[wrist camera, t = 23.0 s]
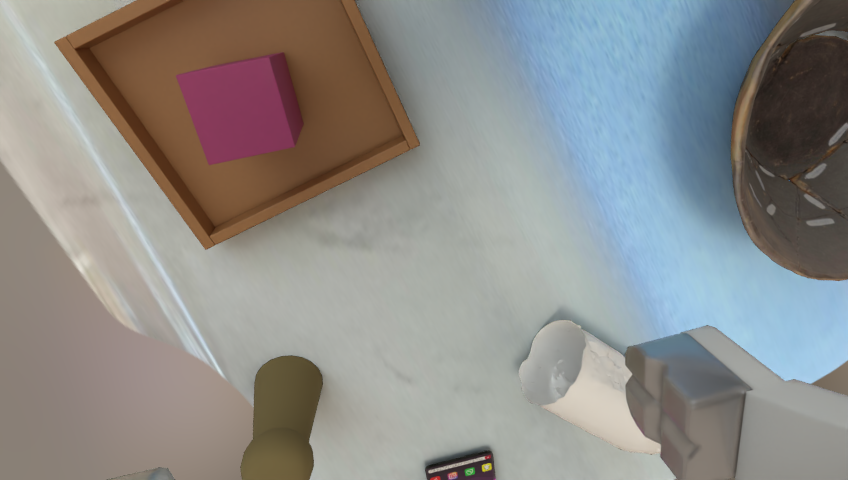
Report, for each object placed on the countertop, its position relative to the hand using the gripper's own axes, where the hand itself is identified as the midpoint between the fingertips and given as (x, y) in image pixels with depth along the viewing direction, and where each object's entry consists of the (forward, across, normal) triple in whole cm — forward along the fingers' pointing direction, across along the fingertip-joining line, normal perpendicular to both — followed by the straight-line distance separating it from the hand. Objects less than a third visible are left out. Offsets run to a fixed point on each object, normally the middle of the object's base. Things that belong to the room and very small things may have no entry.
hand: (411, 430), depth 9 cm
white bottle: (+31, -18, +28) cm, 46 cm away
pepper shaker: (+31, +11, +21) cm, 39 cm away
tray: (+31, +6, -4) cm, 32 cm away
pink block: (+30, +6, -4) cm, 31 cm away
